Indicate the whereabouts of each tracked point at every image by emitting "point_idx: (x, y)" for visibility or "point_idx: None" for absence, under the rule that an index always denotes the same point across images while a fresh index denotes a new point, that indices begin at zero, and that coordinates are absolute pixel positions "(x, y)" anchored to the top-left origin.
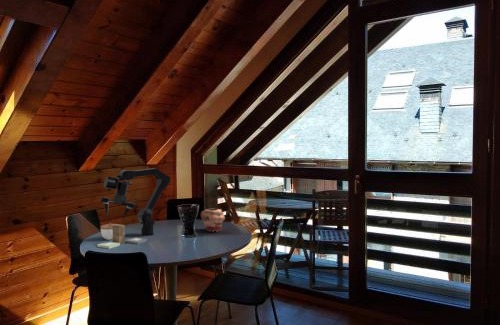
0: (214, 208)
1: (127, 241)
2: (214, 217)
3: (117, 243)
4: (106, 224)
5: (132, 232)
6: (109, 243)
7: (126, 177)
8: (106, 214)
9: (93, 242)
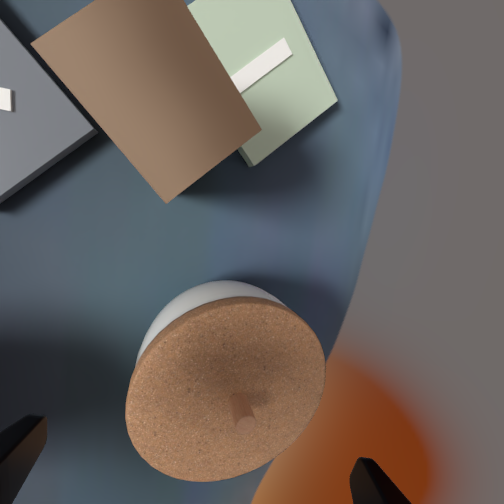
0: None
1: (77, 108)
2: None
3: None
4: (264, 458)
5: (18, 494)
6: (253, 67)
7: None
8: (387, 482)
9: (326, 256)
